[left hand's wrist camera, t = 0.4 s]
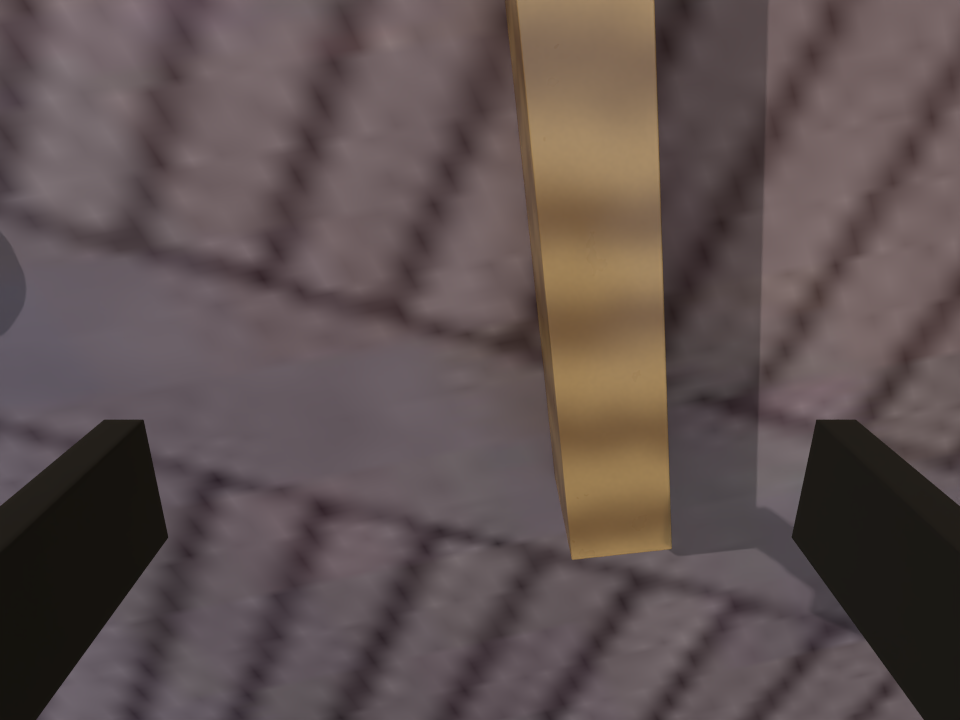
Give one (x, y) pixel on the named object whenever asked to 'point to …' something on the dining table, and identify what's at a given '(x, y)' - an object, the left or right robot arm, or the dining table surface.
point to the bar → (597, 261)
